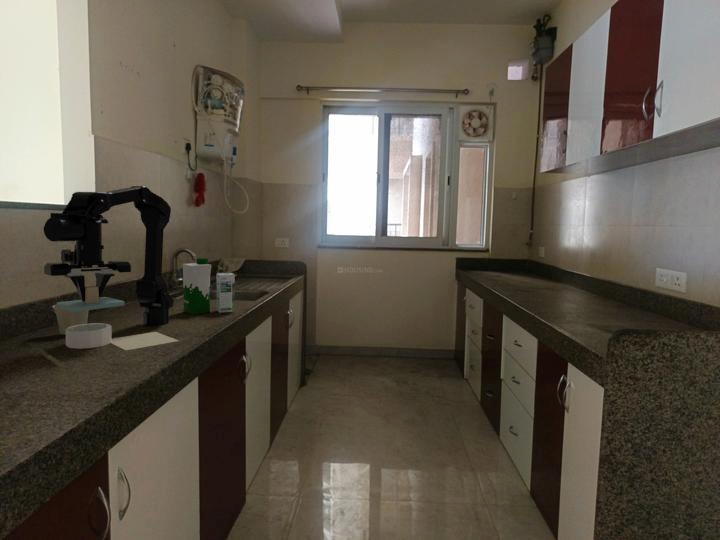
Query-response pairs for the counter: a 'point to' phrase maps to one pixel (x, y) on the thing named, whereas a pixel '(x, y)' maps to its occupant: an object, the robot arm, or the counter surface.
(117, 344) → the mat
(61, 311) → the flower pot
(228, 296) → the syrup box
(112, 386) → the counter surface
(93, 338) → the bowl
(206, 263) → the milk carton
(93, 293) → the lid
